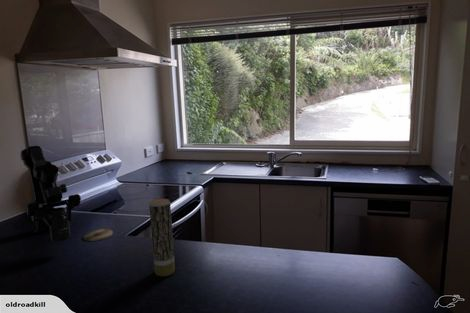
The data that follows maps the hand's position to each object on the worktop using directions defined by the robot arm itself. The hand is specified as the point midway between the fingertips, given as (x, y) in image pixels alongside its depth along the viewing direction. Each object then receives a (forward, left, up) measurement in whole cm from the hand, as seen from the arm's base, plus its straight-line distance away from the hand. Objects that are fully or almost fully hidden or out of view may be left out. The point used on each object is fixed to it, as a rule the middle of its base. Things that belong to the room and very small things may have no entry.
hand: (60, 223), depth 130 cm
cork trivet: (0, +20, -13) cm, 24 cm away
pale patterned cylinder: (+46, -2, -13) cm, 48 cm away
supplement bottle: (-1, +1, -7) cm, 7 cm away
